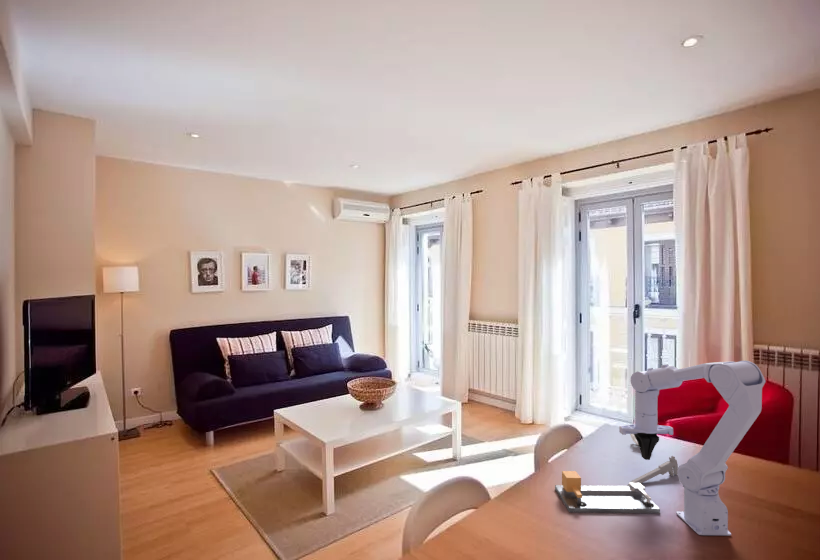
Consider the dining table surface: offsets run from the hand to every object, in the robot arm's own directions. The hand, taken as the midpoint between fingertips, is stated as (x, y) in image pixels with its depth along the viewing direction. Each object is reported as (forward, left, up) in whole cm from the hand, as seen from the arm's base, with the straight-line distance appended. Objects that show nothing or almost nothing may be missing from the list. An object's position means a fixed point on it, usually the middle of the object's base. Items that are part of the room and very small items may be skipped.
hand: (645, 458), depth 123 cm
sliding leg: (-5, +23, -8) cm, 25 cm away
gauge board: (-5, +14, -10) cm, 18 cm away
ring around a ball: (+32, -14, -10) cm, 36 cm away
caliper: (+7, -6, -10) cm, 14 cm away
